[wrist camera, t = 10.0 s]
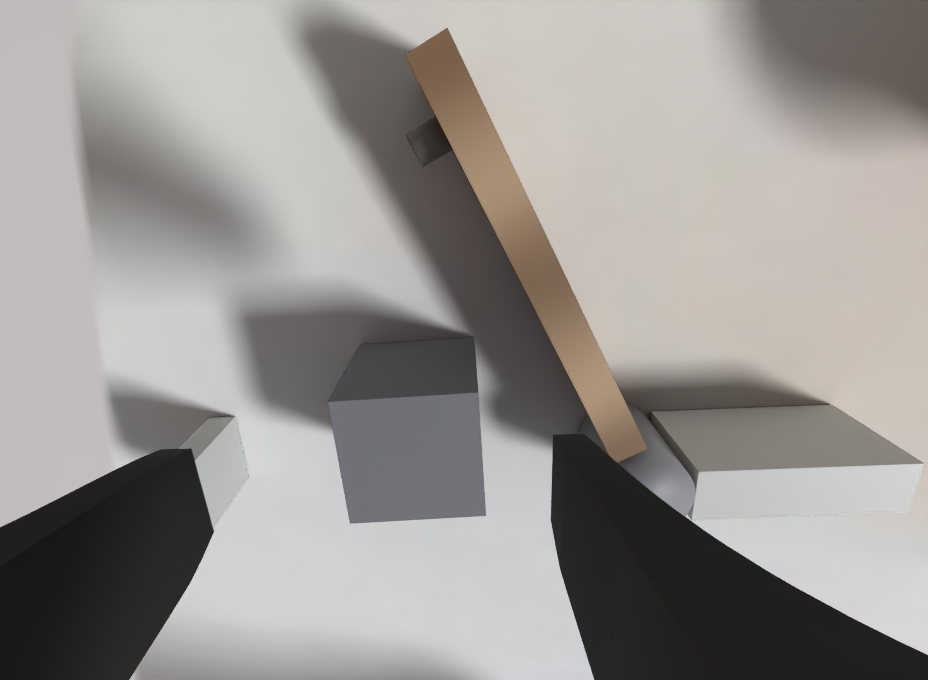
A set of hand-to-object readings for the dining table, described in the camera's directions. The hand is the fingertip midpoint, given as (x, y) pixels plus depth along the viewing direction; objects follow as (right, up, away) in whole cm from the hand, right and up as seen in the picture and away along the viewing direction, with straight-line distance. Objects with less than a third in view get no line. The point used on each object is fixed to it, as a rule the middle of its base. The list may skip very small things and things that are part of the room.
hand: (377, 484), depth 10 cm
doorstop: (0, +1, +10) cm, 10 cm away
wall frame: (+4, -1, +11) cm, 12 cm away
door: (+4, +6, +8) cm, 10 cm away
